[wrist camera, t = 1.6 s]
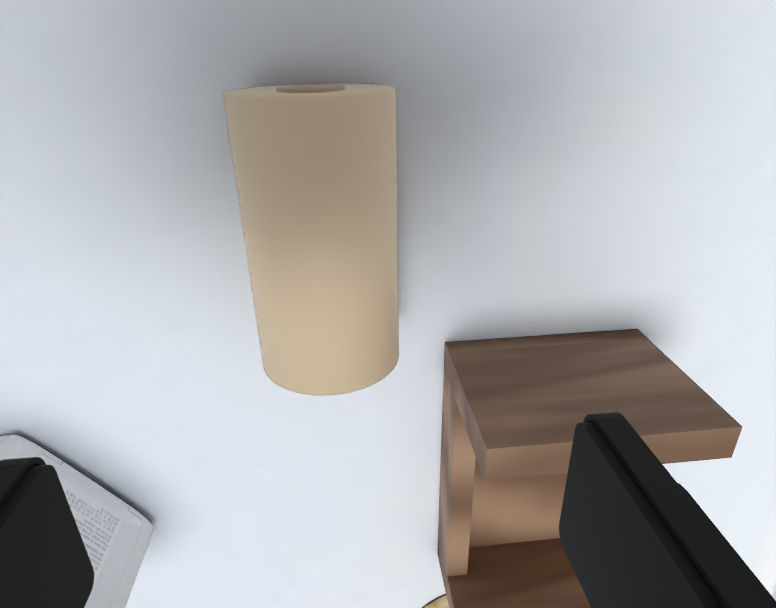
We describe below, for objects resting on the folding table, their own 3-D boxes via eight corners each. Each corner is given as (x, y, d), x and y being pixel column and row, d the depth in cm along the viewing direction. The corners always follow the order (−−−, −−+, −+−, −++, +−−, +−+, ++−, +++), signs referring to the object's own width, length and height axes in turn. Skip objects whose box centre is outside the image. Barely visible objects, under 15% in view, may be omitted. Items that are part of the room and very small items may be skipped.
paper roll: (235, 83, 21) (207, 98, 16) (385, 78, 22) (407, 91, 16) (269, 329, 26) (256, 403, 21) (390, 320, 27) (408, 390, 21)
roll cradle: (444, 342, 27) (486, 449, 20) (637, 328, 28) (742, 426, 21) (437, 554, 35) (466, 687, 27) (591, 537, 35) (657, 663, 28)
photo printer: (-44, 461, 28) (-290, 743, 17) (9, 417, 27) (-214, 682, 16) (118, 557, 32) (8, 832, 21) (168, 521, 31) (81, 788, 20)
